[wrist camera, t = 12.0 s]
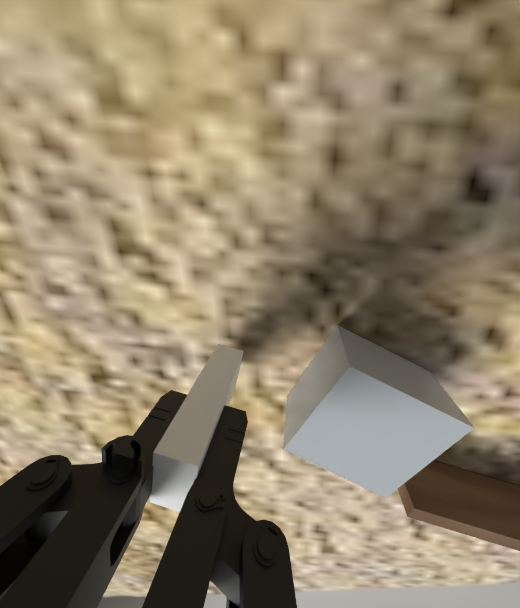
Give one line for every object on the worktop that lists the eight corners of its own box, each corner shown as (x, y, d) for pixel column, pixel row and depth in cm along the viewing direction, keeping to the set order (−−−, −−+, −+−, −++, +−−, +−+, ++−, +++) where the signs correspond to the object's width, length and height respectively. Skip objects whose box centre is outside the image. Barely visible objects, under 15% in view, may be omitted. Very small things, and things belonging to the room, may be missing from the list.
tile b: (336, 323, 14) (349, 366, 10) (428, 369, 14) (474, 427, 10) (287, 393, 16) (283, 449, 12) (366, 432, 16) (385, 497, 13)
